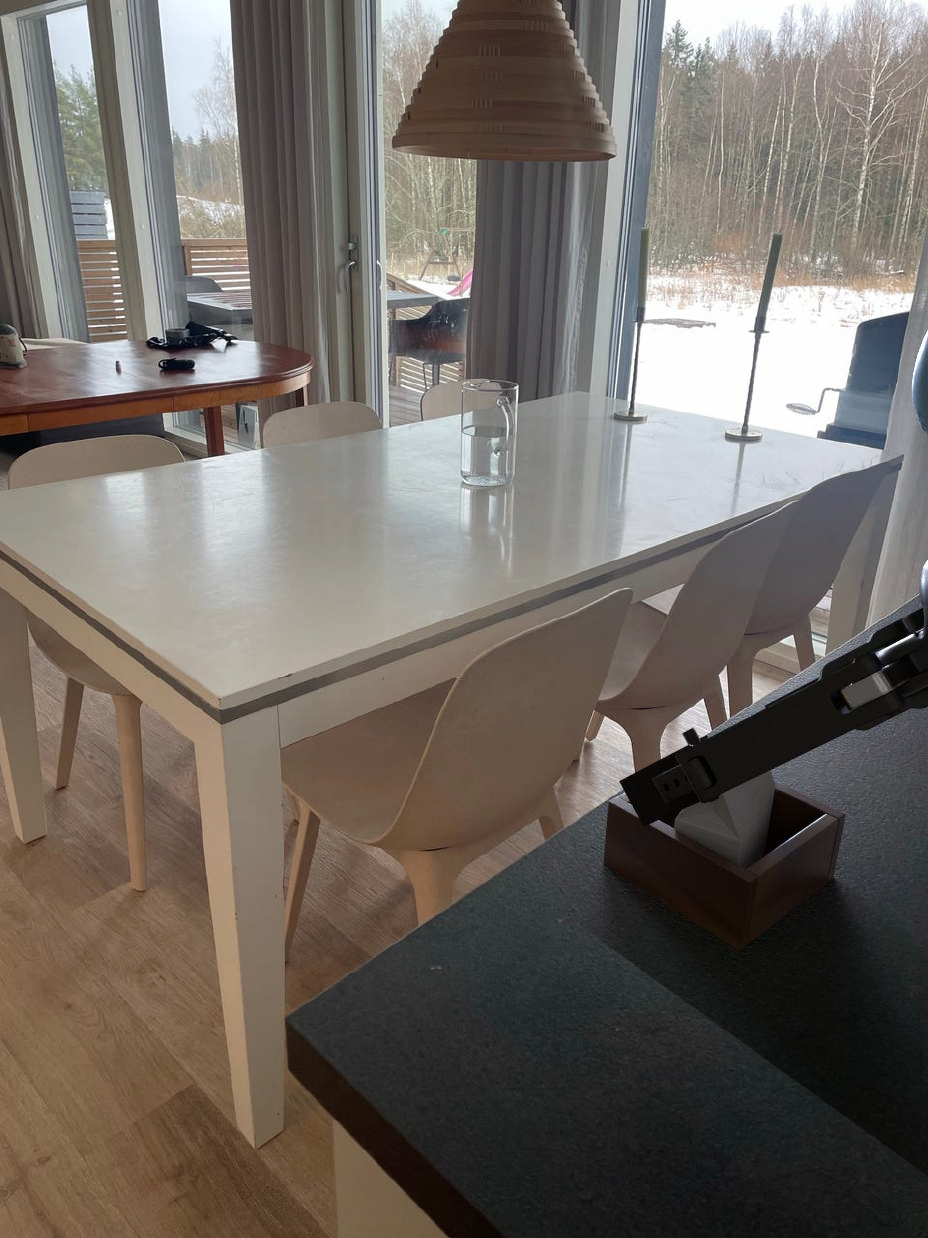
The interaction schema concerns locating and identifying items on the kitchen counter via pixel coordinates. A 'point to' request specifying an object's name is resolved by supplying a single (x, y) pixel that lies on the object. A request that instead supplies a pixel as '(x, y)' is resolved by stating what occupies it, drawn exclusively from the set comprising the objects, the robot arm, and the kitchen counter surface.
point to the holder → (729, 865)
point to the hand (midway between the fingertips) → (712, 759)
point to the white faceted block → (733, 821)
